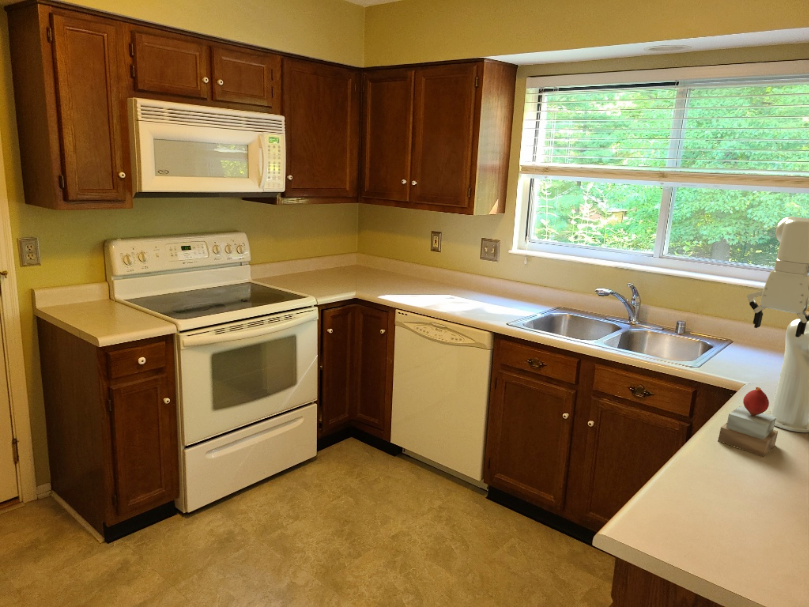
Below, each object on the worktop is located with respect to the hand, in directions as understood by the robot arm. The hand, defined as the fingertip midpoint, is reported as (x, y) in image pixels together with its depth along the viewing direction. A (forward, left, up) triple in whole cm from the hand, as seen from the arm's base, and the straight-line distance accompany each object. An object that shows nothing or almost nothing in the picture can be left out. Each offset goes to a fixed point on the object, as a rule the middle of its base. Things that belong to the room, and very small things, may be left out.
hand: (777, 331), depth 160 cm
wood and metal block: (+6, 0, -30) cm, 31 cm away
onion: (+6, 0, -22) cm, 23 cm away
